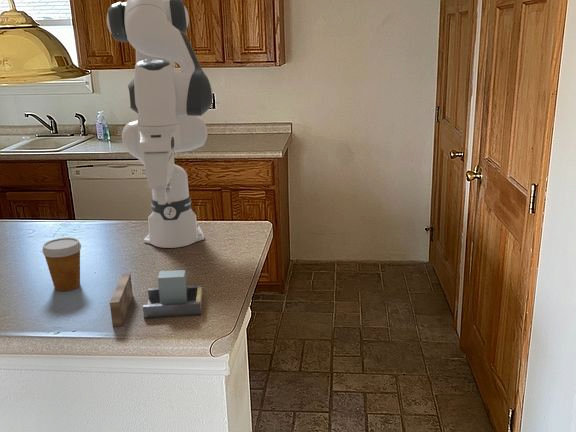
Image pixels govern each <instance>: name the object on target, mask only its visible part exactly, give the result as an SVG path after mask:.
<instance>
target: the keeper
mask: <svg viewBox="0 0 576 432" xmlns="http://www.w3.org/2000/svg"><path fill="white" fill-rule="evenodd" d="M186 287H187V302H185V303H168V304H160V296H159V287H156V288H155V287H152V288H151V287H150V288H149V287H148V289H147V295H148V296H147V297H148V301H147V304H143V305H142V310H143V311H142V312H143V319H148V320H149V319H162V318H163V319H164V318H178V317H192V316H193V317H195V316H201V315H202V308H203V297H204V296H203V285H188V286H187V285H186Z"/></svg>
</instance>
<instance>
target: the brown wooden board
mask: <svg viewBox="0 0 576 432" xmlns="http://www.w3.org/2000/svg"><path fill="white" fill-rule="evenodd" d="M133 296H134V293H133V285H132V276H131V273H121V276H120V277H119V281H118V283H117V285H116V287H115V289H114V292H113V293H112V297H111V299H110V301H109V309H110V317H111V323H112V324H111V325H112V328H117V327H118V328H119V327H123V324H124V321H125V318H126V315H127V313H128V310H129V308H130V304H131V302H132V299H133Z"/></svg>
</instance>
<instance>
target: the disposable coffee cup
mask: <svg viewBox="0 0 576 432" xmlns="http://www.w3.org/2000/svg"><path fill="white" fill-rule="evenodd" d="M81 249H82V243H80V241H79V239H77V238H75V237H59V238H54V239H51V240H49V241H46V242H44V244H43V245H42V249H41V253H42V254H43V256H44V258H45V261H46V264H47V268H48V270H49V271H48V272H49V276H50V277H51V281H52V285H53V287H54V290H55V291H58V292H68V291H69V292H70V291H73V290H75V289H76V290H77V288H79V287H80V285H81Z"/></svg>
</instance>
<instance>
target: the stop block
mask: <svg viewBox="0 0 576 432" xmlns="http://www.w3.org/2000/svg"><path fill="white" fill-rule="evenodd" d="M157 283H158V288H159V296H160V304H168V303H185V302H187V287H186V286H187V276H186V269H179V270H160V271H159V273H158V276H157Z"/></svg>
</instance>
